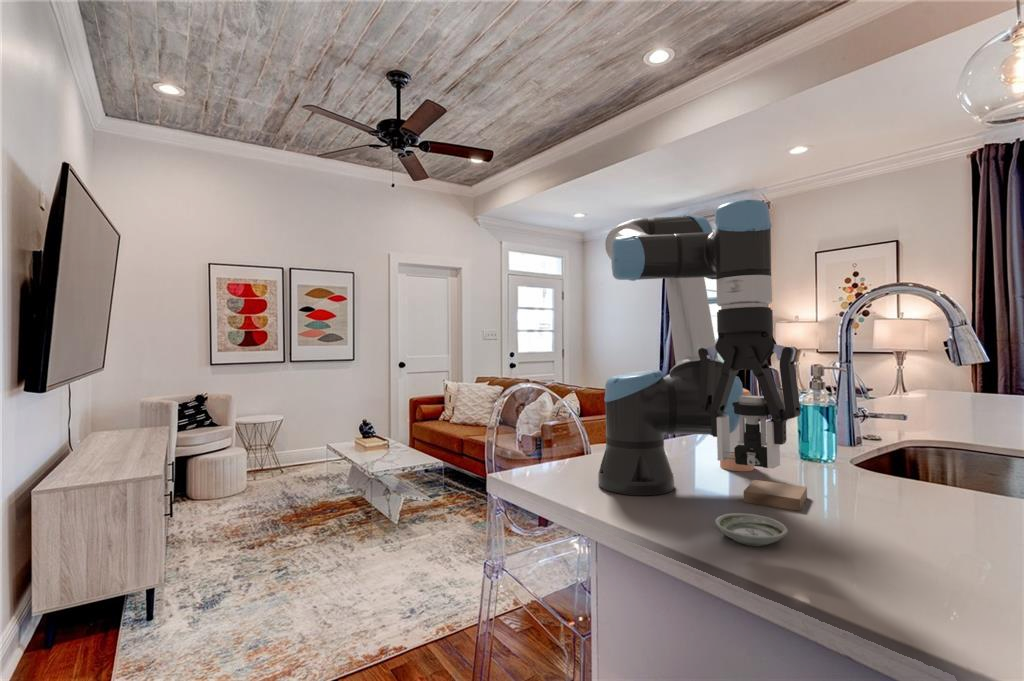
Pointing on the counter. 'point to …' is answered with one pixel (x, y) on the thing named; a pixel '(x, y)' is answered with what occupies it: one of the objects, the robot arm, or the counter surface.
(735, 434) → the pepper shaker
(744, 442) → the push button
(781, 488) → the wooden block
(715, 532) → the counter surface
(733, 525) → the saucer
